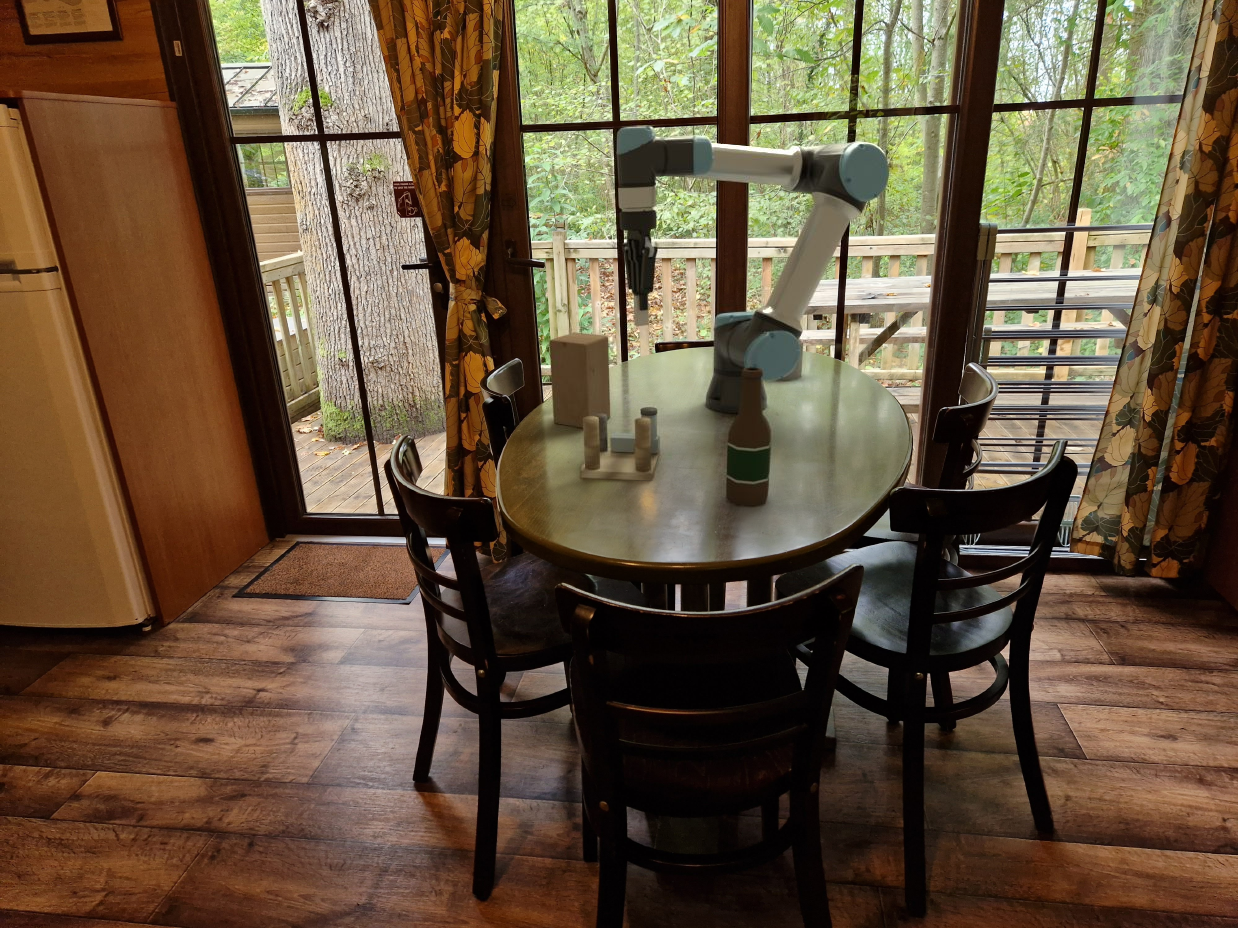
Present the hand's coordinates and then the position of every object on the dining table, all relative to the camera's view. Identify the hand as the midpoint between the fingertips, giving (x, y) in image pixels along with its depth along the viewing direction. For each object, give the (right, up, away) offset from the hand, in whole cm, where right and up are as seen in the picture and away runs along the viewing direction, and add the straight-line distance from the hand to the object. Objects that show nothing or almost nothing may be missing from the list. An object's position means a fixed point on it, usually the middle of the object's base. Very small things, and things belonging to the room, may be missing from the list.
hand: (641, 325), depth 168 cm
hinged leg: (-1, -27, -6) cm, 28 cm away
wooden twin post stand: (-4, -30, -10) cm, 32 cm away
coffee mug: (+40, -5, +54) cm, 68 cm away
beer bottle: (+18, -36, -26) cm, 48 cm away
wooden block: (-14, -20, +19) cm, 31 cm away
